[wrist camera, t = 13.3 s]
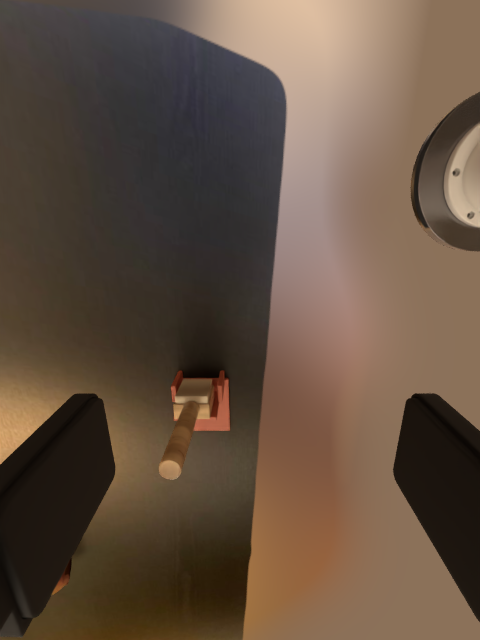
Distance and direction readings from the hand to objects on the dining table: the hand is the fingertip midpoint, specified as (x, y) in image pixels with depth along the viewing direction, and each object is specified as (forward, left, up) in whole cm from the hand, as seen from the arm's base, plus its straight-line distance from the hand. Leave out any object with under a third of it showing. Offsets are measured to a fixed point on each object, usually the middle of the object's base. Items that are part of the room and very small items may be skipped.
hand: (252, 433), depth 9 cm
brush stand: (+7, +19, -30) cm, 36 cm away
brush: (+7, +13, -20) cm, 25 cm away
